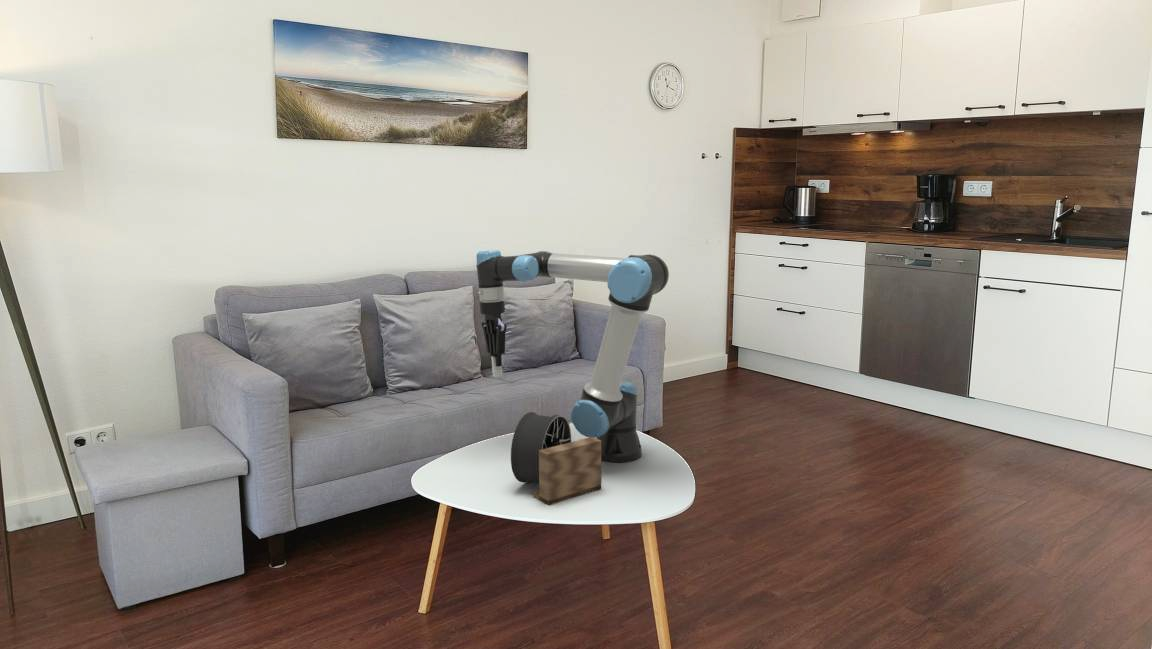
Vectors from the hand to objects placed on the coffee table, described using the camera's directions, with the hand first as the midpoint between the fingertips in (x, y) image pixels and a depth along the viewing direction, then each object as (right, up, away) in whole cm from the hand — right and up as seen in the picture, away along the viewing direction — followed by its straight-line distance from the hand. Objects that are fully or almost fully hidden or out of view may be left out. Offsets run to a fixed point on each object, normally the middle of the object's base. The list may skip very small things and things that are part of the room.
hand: (497, 376), depth 254 cm
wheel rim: (+15, -29, -23) cm, 40 cm away
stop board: (+22, -30, -31) cm, 48 cm away
